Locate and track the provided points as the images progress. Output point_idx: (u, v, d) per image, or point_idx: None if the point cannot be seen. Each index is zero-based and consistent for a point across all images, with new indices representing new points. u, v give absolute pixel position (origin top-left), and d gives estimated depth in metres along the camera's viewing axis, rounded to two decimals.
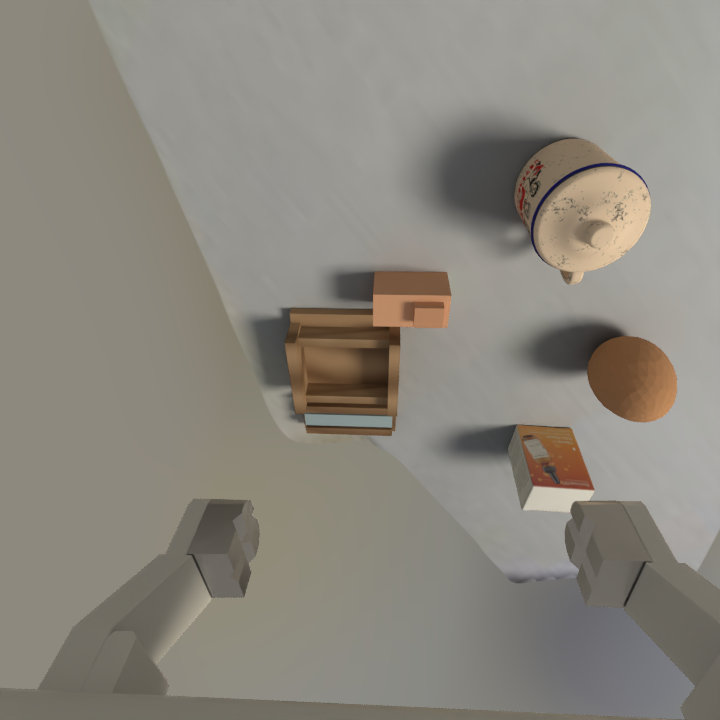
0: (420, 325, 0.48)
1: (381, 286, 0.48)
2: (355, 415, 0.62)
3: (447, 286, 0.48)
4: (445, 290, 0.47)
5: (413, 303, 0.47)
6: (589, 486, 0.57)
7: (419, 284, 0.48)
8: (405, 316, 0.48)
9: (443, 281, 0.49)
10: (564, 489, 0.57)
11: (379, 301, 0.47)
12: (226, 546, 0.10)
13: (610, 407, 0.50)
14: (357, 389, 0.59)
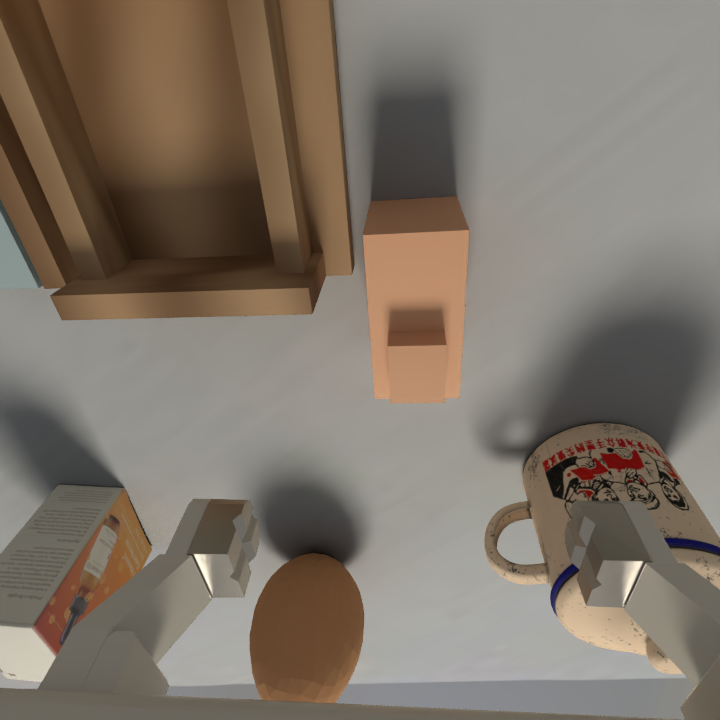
0: (394, 360, 0.19)
1: None
2: None
3: None
4: None
5: (440, 328, 0.19)
6: None
7: None
8: (401, 314, 0.19)
9: None
10: None
11: (446, 247, 0.17)
12: (226, 546, 0.10)
13: (269, 656, 0.30)
14: (88, 182, 0.20)
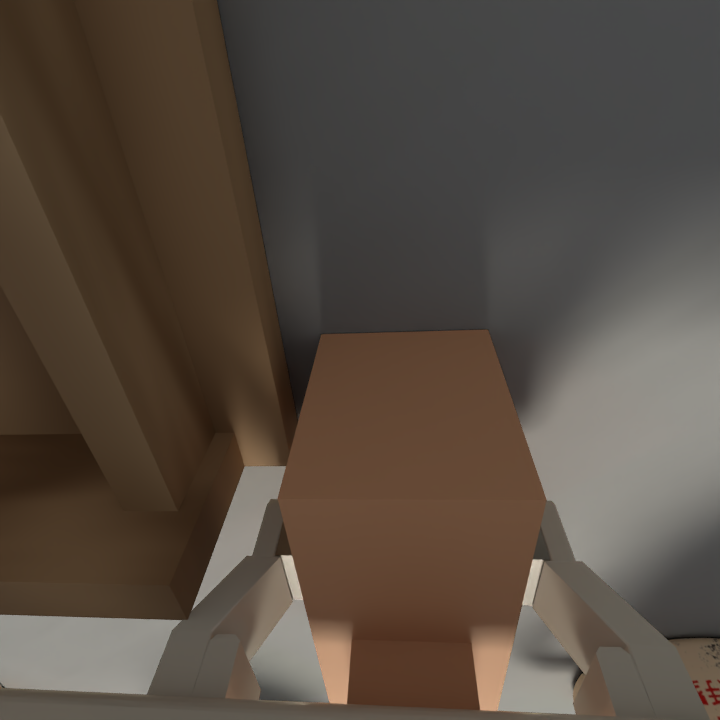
0: None
1: None
2: None
3: None
4: None
5: (462, 642, 0.09)
6: None
7: None
8: (378, 618, 0.09)
9: None
10: None
11: (484, 526, 0.07)
12: None
13: None
14: None
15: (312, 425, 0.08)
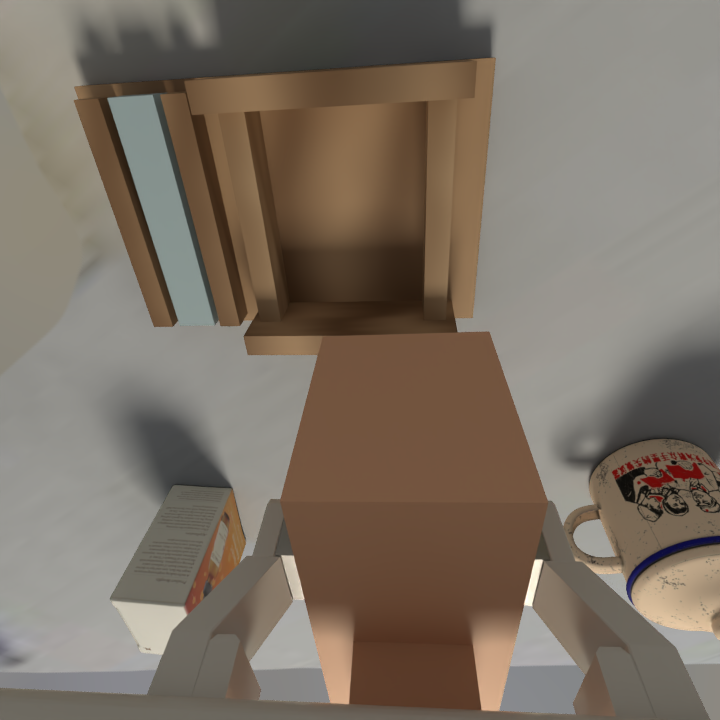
0: None
1: None
2: (193, 244, 0.25)
3: None
4: None
5: (464, 644, 0.09)
6: None
7: None
8: (380, 620, 0.09)
9: None
10: None
11: (485, 529, 0.07)
12: None
13: None
14: (275, 245, 0.25)
15: (314, 427, 0.08)
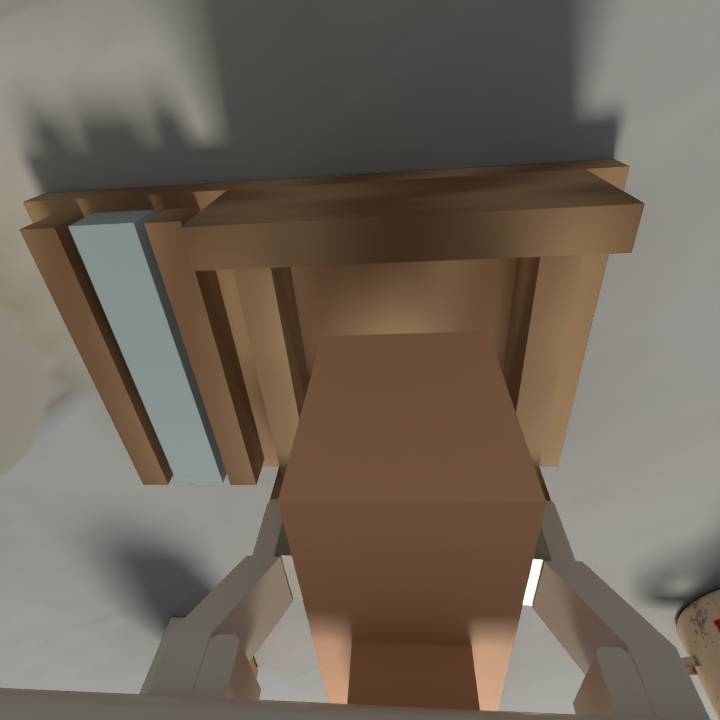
0: None
1: None
2: (194, 397, 0.18)
3: None
4: None
5: (462, 644, 0.09)
6: None
7: None
8: (378, 620, 0.09)
9: None
10: None
11: (484, 529, 0.07)
12: None
13: None
14: (304, 395, 0.18)
15: (312, 427, 0.08)
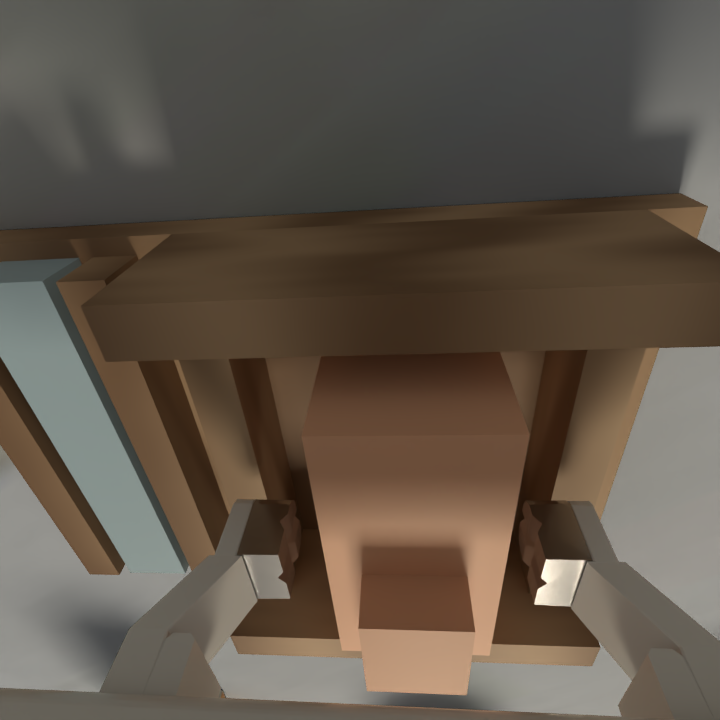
0: (372, 645, 0.10)
1: None
2: (143, 482, 0.15)
3: None
4: None
5: (459, 575, 0.10)
6: None
7: None
8: (385, 552, 0.10)
9: None
10: None
11: (477, 460, 0.08)
12: (275, 547, 0.10)
13: None
14: (280, 480, 0.15)
15: (328, 381, 0.10)
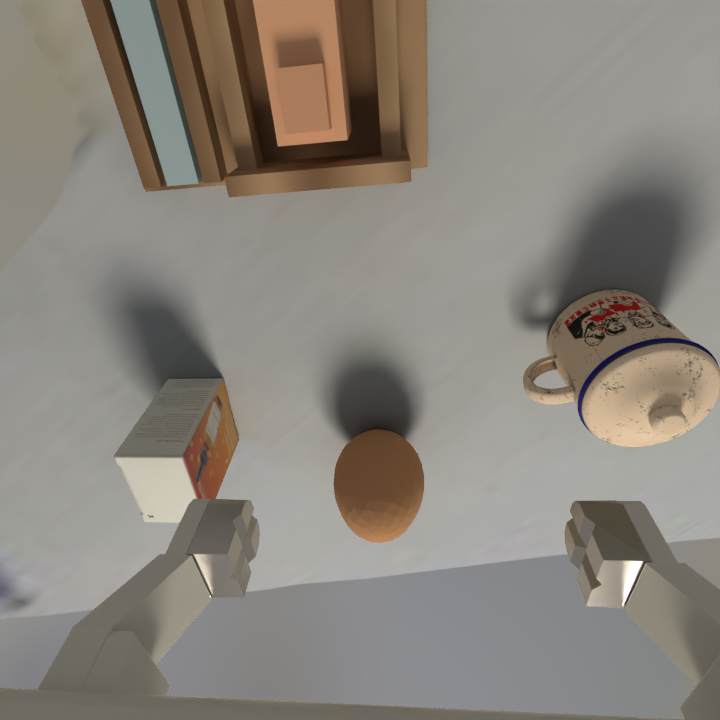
0: (282, 84, 0.23)
1: None
2: (176, 98, 0.28)
3: (349, 131, 0.27)
4: (347, 127, 0.26)
5: (321, 61, 0.24)
6: None
7: (344, 73, 0.26)
8: (287, 47, 0.23)
9: (349, 123, 0.28)
10: (193, 493, 0.36)
11: None
12: (226, 546, 0.10)
13: (356, 488, 0.38)
14: (248, 97, 0.28)
15: None
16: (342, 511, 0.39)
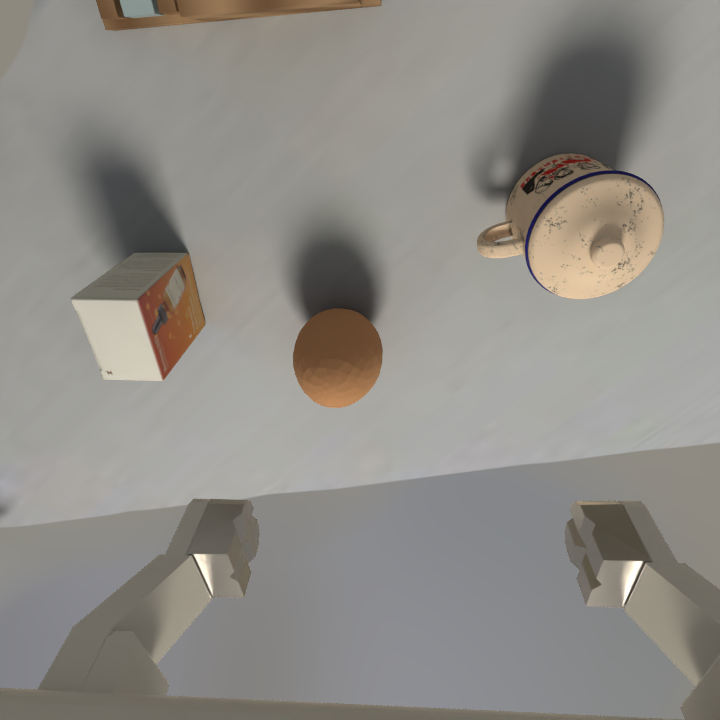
0: None
1: None
2: None
3: None
4: None
5: None
6: (164, 372, 0.39)
7: None
8: None
9: None
10: (149, 344, 0.37)
11: None
12: (226, 546, 0.10)
13: (311, 349, 0.38)
14: None
15: None
16: (298, 375, 0.39)
